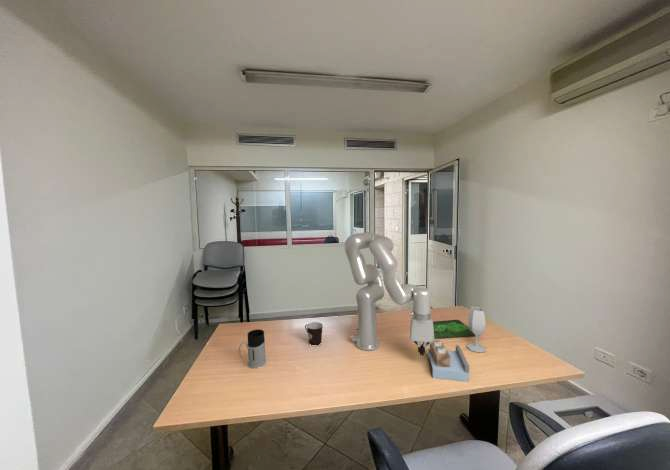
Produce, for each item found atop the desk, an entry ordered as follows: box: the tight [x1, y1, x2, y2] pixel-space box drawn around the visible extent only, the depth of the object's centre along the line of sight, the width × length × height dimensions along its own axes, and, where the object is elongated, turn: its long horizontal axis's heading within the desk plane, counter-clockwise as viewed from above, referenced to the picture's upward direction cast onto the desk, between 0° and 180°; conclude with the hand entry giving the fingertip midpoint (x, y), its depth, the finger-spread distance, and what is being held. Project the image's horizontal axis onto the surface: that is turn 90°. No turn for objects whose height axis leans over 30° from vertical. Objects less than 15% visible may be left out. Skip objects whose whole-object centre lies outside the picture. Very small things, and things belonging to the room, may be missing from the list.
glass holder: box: [238, 329, 267, 369], centre depth 123 cm, size 9×14×15 cm, turn 149°
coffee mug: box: [304, 321, 324, 346], centre depth 145 cm, size 12×9×10 cm
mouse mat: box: [433, 319, 475, 340], centre depth 157 cm, size 27×22×1 cm
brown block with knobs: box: [429, 339, 450, 367], centre depth 119 cm, size 6×12×6 cm, turn 174°
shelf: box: [427, 344, 470, 383], centre depth 118 cm, size 14×17×7 cm
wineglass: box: [466, 306, 487, 353], centre depth 134 cm, size 9×9×21 cm
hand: (421, 354), depth 120 cm, fingers closed
